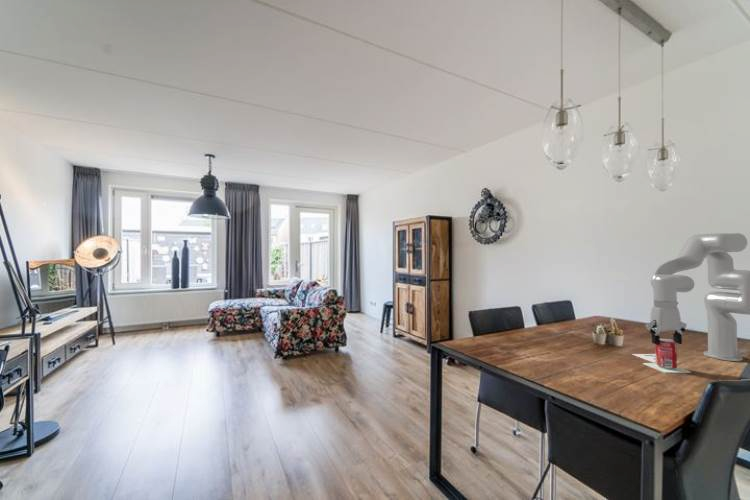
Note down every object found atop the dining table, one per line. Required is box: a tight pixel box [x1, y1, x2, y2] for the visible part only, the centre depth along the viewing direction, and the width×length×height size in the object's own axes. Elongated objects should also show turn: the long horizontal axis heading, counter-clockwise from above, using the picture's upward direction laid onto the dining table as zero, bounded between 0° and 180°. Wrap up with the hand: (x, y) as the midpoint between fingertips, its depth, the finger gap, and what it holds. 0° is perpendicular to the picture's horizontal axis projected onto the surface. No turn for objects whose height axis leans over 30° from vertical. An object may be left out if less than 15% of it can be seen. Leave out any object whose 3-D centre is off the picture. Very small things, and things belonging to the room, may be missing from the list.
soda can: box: [654, 337, 678, 369], centre depth 137 cm, size 7×7×12 cm
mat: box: [642, 362, 692, 374], centre depth 137 cm, size 11×11×1 cm
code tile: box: [631, 353, 680, 364], centre depth 150 cm, size 12×12×1 cm
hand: (666, 343), depth 138 cm, fingers open, 9 cm apart
